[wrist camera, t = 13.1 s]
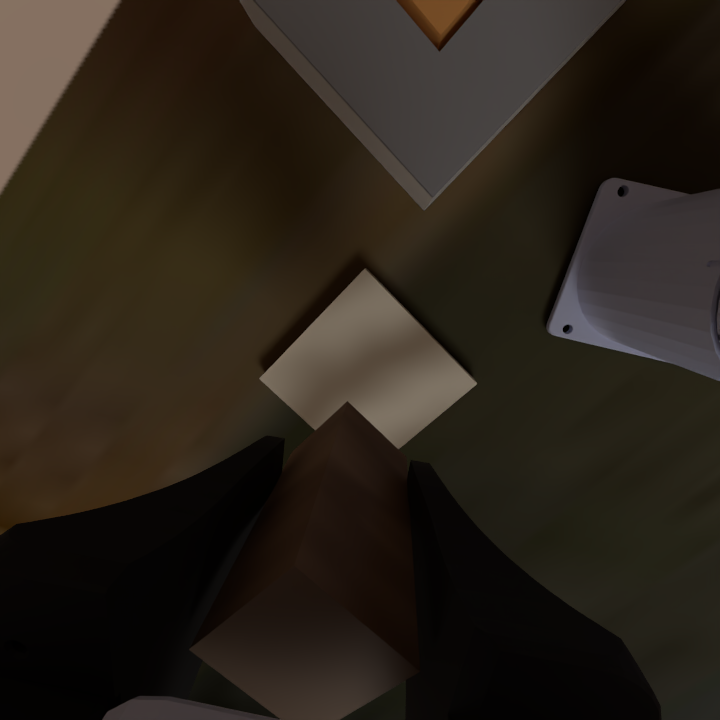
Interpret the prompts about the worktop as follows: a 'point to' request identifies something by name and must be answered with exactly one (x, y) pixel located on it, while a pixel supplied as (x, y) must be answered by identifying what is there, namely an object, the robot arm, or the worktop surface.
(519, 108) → the switch box
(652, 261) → the robot arm
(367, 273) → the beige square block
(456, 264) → the worktop surface
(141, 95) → the worktop surface
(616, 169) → the worktop surface
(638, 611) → the worktop surface
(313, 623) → the brown rectangular block
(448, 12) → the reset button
